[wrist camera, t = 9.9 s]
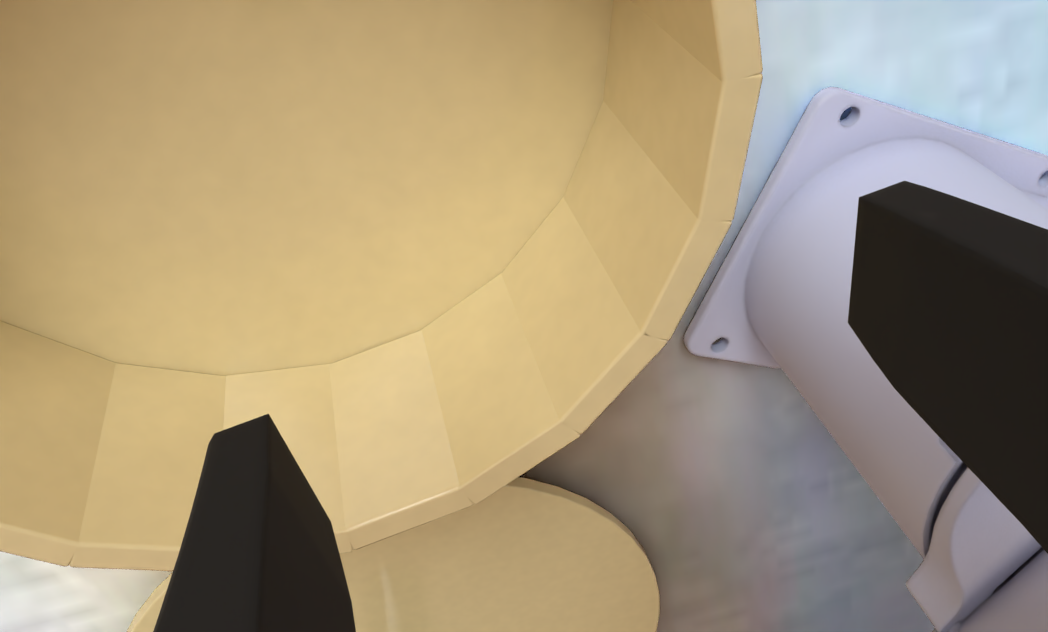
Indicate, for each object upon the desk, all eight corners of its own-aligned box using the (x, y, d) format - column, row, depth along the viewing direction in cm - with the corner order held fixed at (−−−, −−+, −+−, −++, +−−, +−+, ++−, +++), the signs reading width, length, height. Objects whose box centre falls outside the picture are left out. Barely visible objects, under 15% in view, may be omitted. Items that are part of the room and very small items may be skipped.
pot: (775, -255, 17) (973, -226, 12) (488, 416, 25) (539, 586, 20) (-410, -847, 10) (-976, -1283, 5) (-263, 330, 18) (-438, 550, 14)
